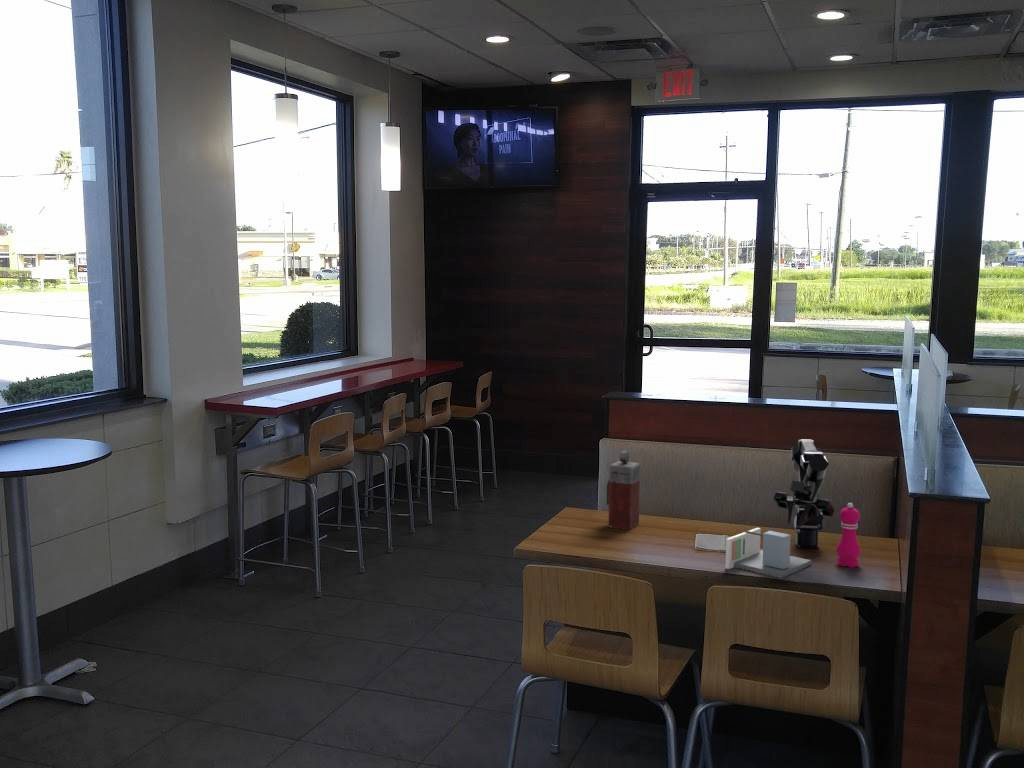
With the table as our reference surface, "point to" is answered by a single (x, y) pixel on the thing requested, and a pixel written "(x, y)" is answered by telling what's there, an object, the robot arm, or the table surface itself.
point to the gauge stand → (756, 556)
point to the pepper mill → (848, 537)
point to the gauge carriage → (775, 549)
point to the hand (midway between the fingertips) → (793, 525)
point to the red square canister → (623, 493)
